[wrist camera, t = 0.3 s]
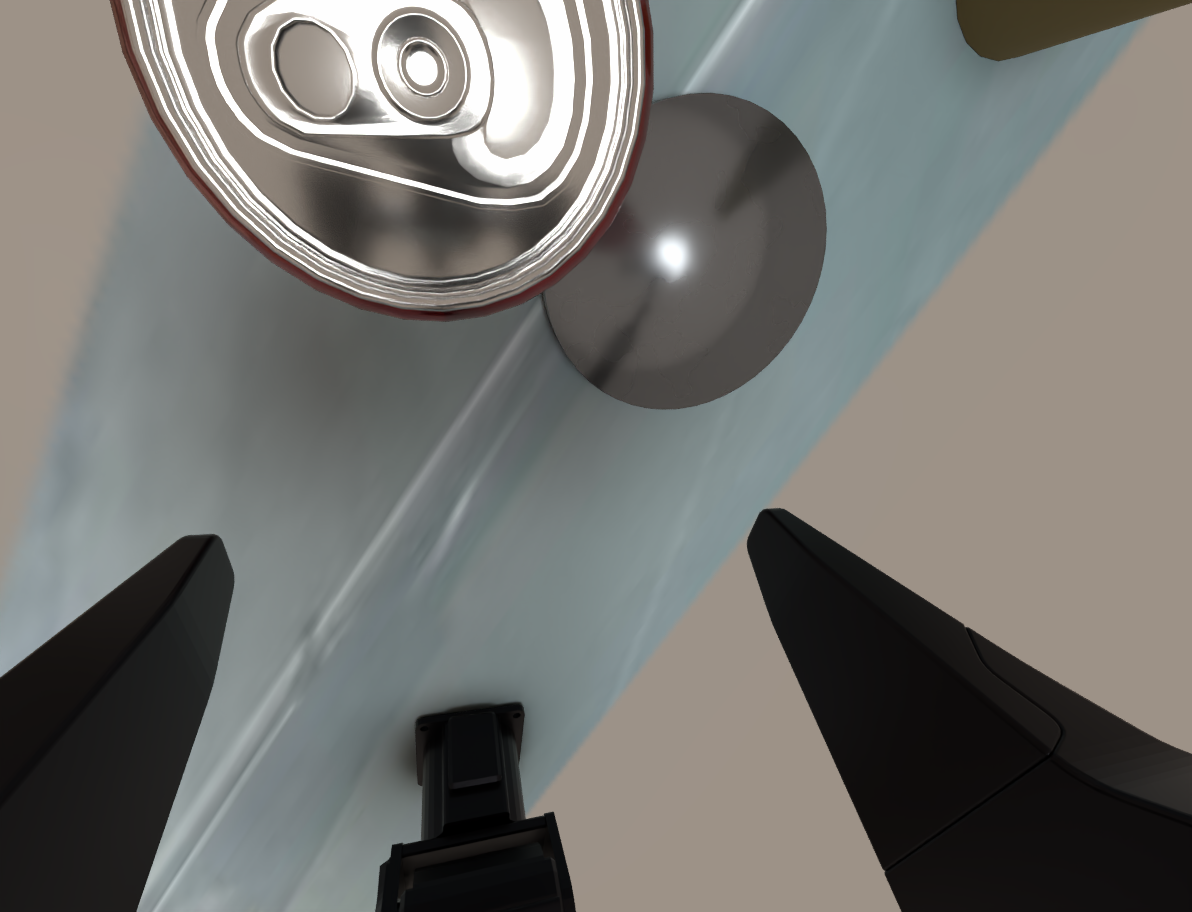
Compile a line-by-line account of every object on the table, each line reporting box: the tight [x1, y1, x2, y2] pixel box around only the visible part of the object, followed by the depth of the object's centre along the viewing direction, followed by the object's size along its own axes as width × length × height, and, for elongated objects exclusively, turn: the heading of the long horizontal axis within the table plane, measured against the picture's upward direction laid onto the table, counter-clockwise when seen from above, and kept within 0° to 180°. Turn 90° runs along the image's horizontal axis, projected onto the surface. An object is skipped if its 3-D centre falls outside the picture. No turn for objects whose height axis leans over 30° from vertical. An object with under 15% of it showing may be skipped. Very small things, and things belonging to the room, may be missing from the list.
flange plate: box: [543, 93, 827, 409], centre depth 21 cm, size 12×12×1 cm
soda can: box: [110, 0, 654, 322], centre depth 12 cm, size 7×7×12 cm
